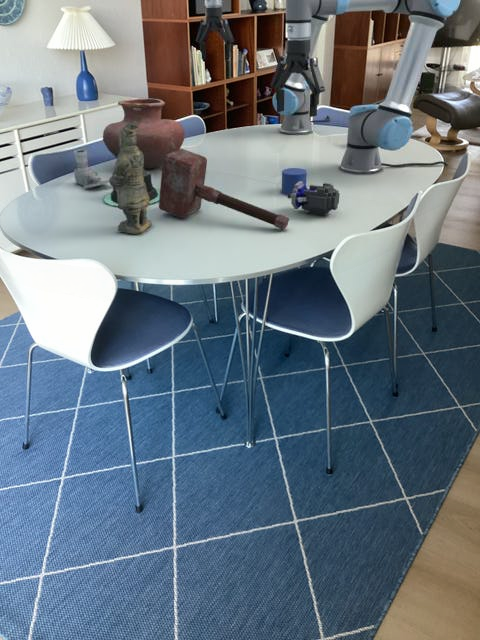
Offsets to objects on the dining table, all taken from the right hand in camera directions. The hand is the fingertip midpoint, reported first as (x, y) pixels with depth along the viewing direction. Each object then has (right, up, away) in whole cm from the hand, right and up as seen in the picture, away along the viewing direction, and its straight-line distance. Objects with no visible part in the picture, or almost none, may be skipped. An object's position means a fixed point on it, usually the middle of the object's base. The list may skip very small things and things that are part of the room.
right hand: (296, 113), depth 176 cm
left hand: (-29, +55, +80) cm, 101 cm away
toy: (+4, -33, -6) cm, 33 cm away
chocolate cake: (-54, -24, +11) cm, 60 cm away
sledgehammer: (-23, -36, -10) cm, 43 cm away
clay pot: (-55, -5, +44) cm, 70 cm away
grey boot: (-71, -17, +24) cm, 77 cm away
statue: (-49, -39, -14) cm, 64 cm away
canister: (0, -22, +13) cm, 25 cm away
